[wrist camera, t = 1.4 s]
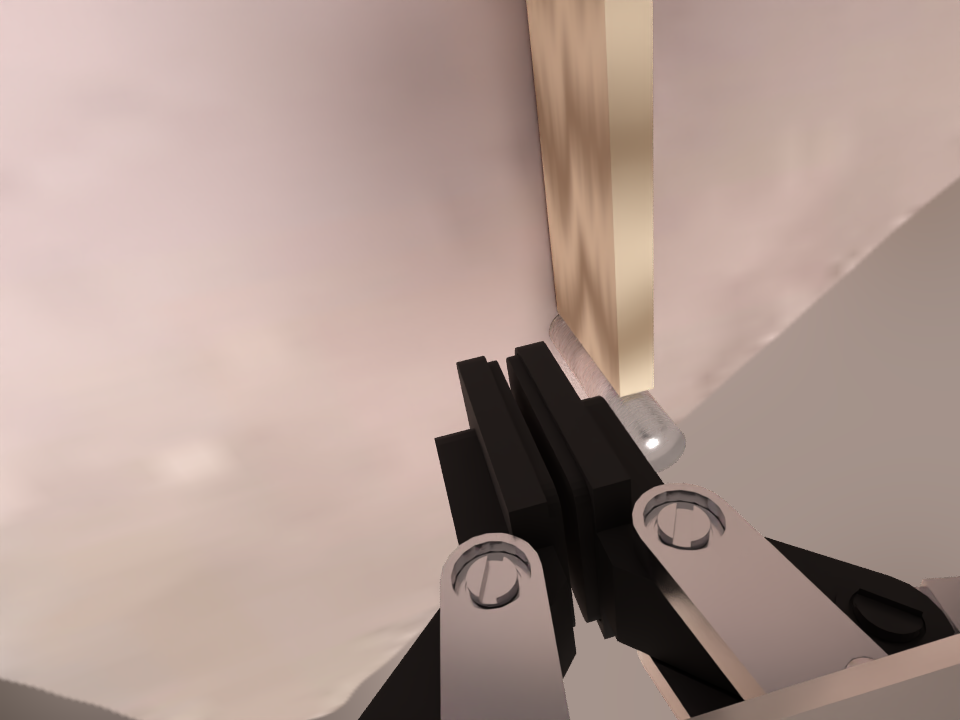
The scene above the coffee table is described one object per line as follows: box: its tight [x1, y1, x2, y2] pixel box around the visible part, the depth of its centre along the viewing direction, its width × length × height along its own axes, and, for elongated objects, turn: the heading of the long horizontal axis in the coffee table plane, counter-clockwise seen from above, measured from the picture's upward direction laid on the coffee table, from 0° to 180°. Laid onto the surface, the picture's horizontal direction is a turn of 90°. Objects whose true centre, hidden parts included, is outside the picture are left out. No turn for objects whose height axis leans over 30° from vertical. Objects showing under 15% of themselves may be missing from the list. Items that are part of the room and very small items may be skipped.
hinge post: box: [549, 315, 686, 472], centre depth 29 cm, size 2×2×11 cm
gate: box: [526, 0, 654, 397], centre depth 23 cm, size 20×2×8 cm, turn 9°
